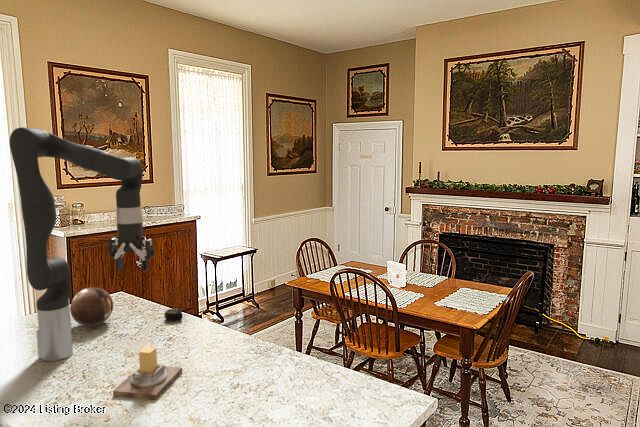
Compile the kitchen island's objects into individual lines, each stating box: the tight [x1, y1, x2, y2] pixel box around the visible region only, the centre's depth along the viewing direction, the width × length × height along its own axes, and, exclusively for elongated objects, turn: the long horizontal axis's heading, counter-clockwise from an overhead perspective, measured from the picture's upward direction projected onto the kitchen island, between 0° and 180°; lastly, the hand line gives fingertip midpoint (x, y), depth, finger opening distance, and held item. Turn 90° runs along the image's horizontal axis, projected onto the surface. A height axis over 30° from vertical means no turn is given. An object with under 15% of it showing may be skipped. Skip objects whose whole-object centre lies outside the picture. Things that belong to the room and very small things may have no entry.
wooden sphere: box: [69, 286, 114, 328], centre depth 179 cm, size 15×15×15 cm
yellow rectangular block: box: [138, 346, 158, 374], centre depth 135 cm, size 4×4×8 cm
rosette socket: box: [112, 363, 183, 401], centre depth 135 cm, size 13×16×4 cm
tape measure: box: [164, 308, 183, 322], centre depth 186 cm, size 7×7×4 cm
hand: (132, 270), depth 147 cm, fingers open, 8 cm apart
